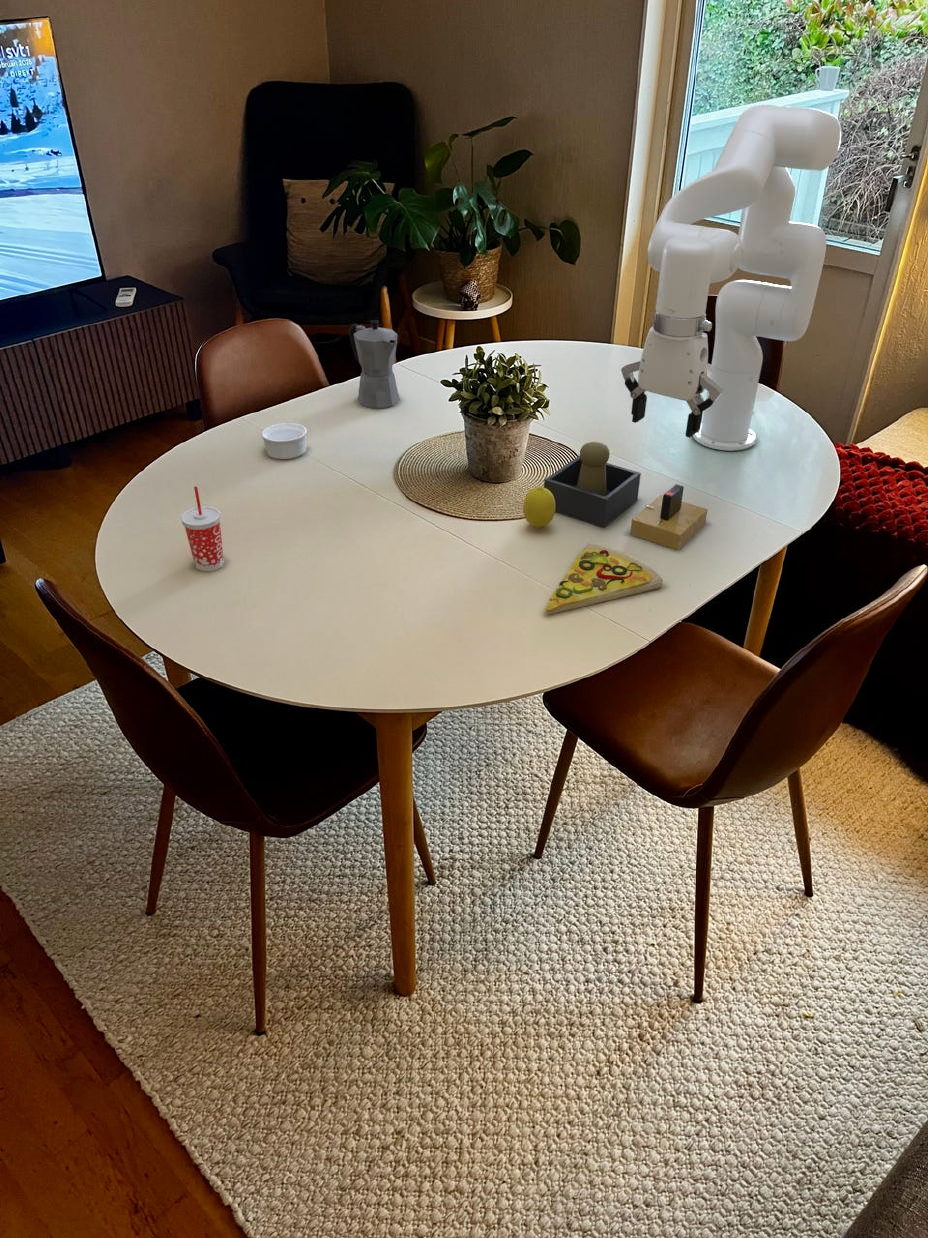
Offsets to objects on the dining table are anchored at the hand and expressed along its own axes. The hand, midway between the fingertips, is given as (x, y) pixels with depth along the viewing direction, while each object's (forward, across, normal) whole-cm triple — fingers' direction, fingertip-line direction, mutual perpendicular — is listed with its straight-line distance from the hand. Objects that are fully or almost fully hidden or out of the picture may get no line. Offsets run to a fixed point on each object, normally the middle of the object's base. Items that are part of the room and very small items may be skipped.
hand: (664, 427), depth 157 cm
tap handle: (+15, -3, 0) cm, 16 cm away
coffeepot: (+18, +76, -14) cm, 79 cm away
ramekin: (+18, +72, +18) cm, 77 cm away
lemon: (+19, +15, +13) cm, 27 cm away
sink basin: (+18, +12, 0) cm, 22 cm away
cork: (+18, +12, 0) cm, 22 cm away
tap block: (+18, -3, 0) cm, 19 cm away
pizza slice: (+19, -2, +24) cm, 31 cm away
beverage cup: (+19, +52, +55) cm, 78 cm away
